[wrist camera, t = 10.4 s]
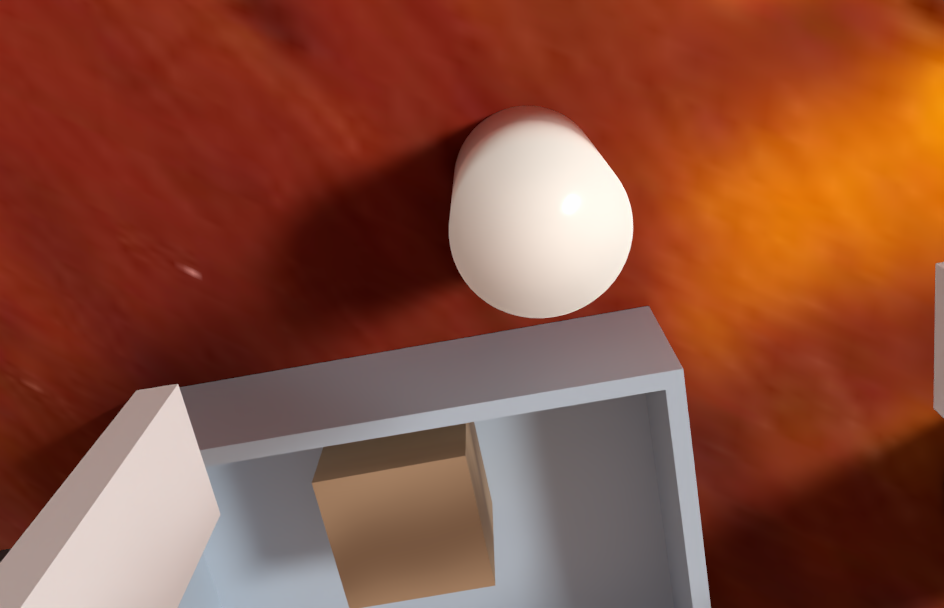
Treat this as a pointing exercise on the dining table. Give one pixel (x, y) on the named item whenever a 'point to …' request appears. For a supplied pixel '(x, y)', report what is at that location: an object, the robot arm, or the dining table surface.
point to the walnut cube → (408, 515)
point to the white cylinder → (536, 214)
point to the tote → (504, 457)
